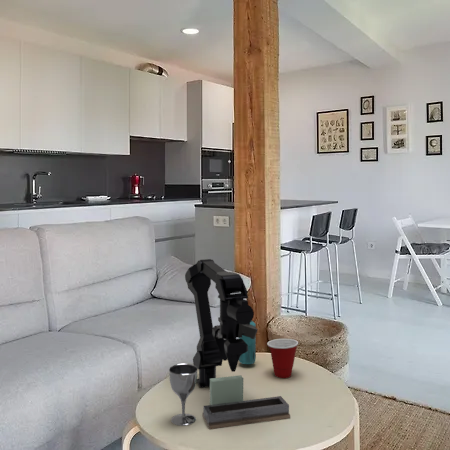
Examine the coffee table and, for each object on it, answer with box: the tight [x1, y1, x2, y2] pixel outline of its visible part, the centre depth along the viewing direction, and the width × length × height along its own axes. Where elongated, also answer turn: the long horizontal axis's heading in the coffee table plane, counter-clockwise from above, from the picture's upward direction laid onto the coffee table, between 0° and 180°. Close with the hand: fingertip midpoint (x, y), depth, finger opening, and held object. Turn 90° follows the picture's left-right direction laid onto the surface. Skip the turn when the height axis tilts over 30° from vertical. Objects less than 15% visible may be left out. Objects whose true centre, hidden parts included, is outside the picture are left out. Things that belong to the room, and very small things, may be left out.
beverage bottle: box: [238, 319, 257, 365], centre depth 185 cm, size 6×7×20 cm
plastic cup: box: [266, 338, 299, 379], centre depth 176 cm, size 11×11×12 cm
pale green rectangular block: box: [209, 375, 244, 405], centre depth 154 cm, size 2×10×8 cm, turn 106°
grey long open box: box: [202, 395, 291, 430], centre depth 146 cm, size 8×24×4 cm, turn 106°
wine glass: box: [168, 363, 198, 427], centre depth 144 cm, size 8×8×15 cm
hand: (229, 365), depth 153 cm, fingers open, 9 cm apart
